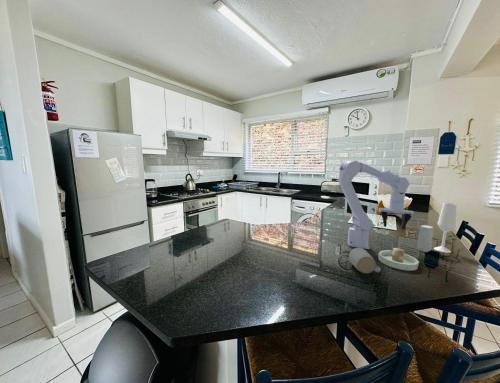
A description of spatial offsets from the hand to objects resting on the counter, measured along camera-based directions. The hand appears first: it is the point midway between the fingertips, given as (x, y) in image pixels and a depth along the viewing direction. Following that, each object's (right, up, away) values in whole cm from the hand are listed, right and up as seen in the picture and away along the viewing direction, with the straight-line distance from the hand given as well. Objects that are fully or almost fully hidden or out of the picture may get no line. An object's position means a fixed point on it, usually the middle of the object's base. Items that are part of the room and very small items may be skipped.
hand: (393, 227), depth 108 cm
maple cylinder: (-9, -12, -17) cm, 22 cm away
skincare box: (+15, -11, 0) cm, 19 cm away
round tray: (-10, -12, -16) cm, 23 cm away
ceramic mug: (-27, -13, -24) cm, 38 cm away
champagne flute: (+25, -12, 0) cm, 27 cm away
